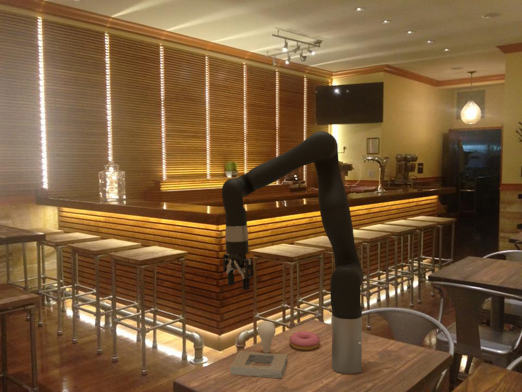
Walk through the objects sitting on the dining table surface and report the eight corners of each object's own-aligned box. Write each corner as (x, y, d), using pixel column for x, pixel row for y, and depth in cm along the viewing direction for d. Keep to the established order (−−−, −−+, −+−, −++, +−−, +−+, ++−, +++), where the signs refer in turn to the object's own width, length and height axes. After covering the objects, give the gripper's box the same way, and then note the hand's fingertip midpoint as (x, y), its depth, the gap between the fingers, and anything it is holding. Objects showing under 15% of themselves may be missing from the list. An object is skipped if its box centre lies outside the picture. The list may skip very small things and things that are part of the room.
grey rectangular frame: (287, 362, 155) (287, 354, 155) (281, 378, 144) (281, 370, 144) (239, 358, 159) (239, 351, 158) (230, 374, 147) (230, 366, 147)
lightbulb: (254, 354, 162) (254, 322, 161) (262, 348, 167) (262, 317, 166) (270, 358, 159) (270, 325, 158) (278, 351, 164) (278, 320, 163)
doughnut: (299, 354, 162) (299, 342, 162) (283, 343, 172) (283, 332, 171) (326, 348, 167) (326, 336, 167) (308, 338, 177) (308, 327, 176)
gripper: (258, 239, 154) (260, 289, 155) (234, 235, 165) (235, 281, 166) (239, 242, 149) (241, 293, 150) (215, 238, 161) (217, 285, 162)
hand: (238, 287), depth 158 cm, fingers open, 8 cm apart
